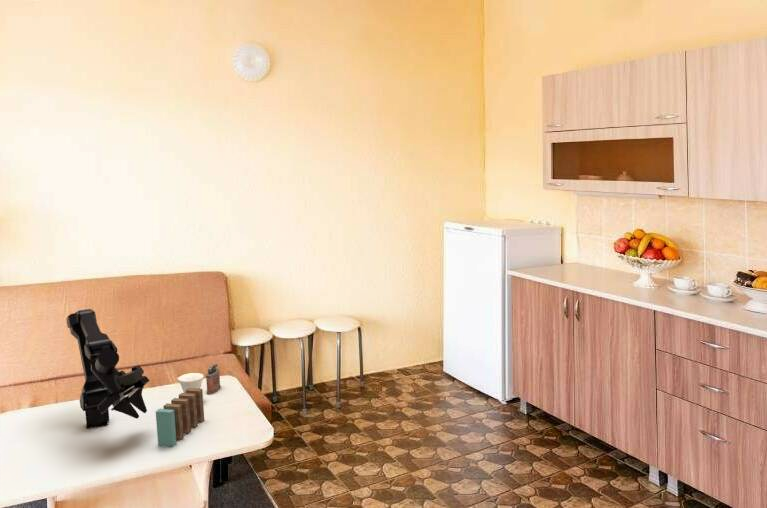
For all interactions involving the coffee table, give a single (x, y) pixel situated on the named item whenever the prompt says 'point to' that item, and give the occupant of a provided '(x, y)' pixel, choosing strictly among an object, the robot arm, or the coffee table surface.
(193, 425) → the brown wooden plank
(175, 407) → the tile
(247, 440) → the coffee table surface
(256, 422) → the coffee table surface
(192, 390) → the tile
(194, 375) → the cup
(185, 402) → the brown wooden block
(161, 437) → the tile
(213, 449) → the coffee table surface
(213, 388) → the lighter
